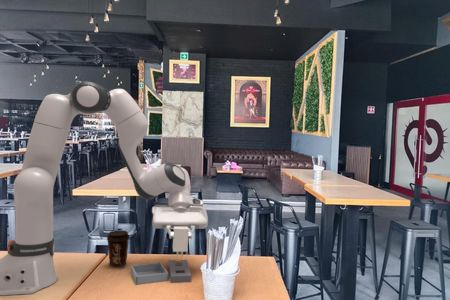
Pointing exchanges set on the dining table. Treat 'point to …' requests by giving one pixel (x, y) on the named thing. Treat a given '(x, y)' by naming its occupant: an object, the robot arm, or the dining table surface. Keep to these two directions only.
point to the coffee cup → (117, 248)
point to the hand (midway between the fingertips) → (180, 237)
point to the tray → (149, 273)
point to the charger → (180, 239)
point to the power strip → (179, 271)
